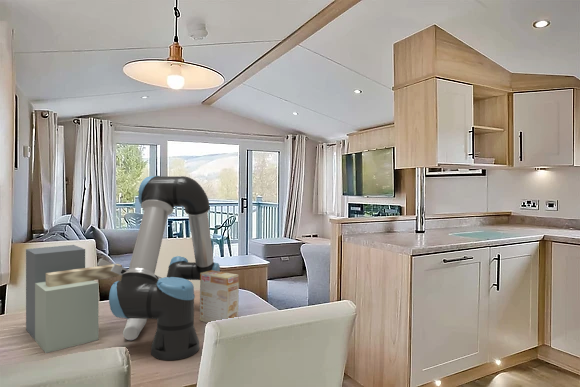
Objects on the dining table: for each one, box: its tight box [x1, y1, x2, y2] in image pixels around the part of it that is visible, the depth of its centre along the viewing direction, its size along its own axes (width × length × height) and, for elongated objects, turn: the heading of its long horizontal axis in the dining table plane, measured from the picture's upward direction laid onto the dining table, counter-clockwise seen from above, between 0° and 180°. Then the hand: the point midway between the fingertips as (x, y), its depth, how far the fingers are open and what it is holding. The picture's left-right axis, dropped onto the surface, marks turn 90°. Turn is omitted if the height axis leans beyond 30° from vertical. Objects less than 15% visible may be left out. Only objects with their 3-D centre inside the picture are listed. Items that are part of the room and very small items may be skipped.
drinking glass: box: [122, 318, 148, 341], centre depth 142 cm, size 7×7×15 cm
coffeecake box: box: [199, 270, 240, 324], centre depth 154 cm, size 15×7×20 cm, turn 57°
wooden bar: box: [46, 263, 123, 287], centre depth 139 cm, size 24×4×4 cm, turn 135°
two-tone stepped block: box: [25, 244, 100, 354], centre depth 139 cm, size 16×28×30 cm, turn 45°
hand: (105, 264), depth 143 cm, fingers open, 13 cm apart
